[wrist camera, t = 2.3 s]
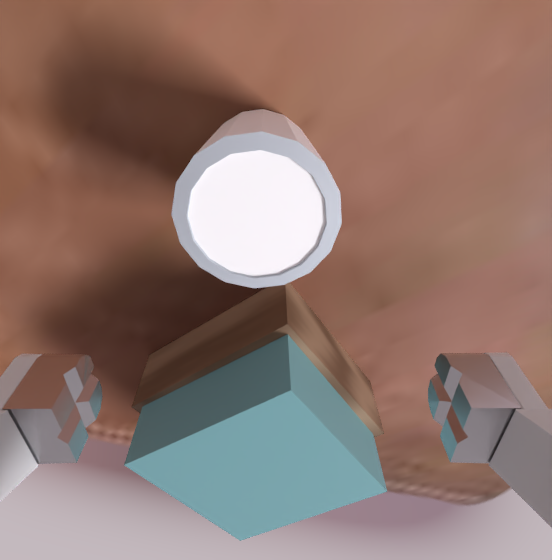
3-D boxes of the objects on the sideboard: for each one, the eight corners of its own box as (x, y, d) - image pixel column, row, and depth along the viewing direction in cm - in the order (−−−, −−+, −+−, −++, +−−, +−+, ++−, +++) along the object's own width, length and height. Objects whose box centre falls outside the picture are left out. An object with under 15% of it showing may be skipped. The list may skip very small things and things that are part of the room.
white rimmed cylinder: (179, 191, 23) (148, 254, 17) (226, 69, 20) (208, 96, 14) (287, 238, 25) (293, 310, 19) (347, 134, 21) (377, 182, 16)
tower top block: (142, 406, 26) (124, 465, 23) (287, 334, 23) (291, 390, 20) (243, 483, 31) (240, 540, 28) (373, 433, 28) (386, 491, 25)
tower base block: (150, 351, 30) (131, 407, 26) (284, 274, 27) (287, 323, 22) (247, 433, 36) (244, 489, 32) (369, 378, 32) (384, 433, 28)
